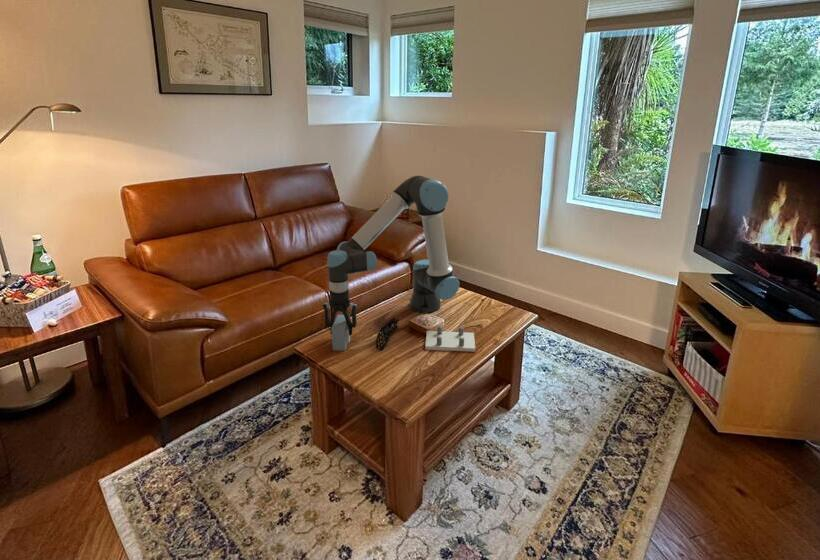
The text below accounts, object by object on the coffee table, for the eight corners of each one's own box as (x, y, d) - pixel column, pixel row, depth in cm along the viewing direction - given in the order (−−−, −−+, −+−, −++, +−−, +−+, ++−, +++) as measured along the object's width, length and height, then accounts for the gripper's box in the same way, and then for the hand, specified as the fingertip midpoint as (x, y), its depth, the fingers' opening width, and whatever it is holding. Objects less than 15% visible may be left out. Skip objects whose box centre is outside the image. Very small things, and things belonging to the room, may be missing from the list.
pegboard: (425, 349, 188) (425, 339, 186) (426, 333, 200) (427, 324, 198) (475, 351, 187) (475, 341, 185) (473, 335, 198) (474, 326, 197)
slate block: (339, 335, 198) (338, 314, 194) (350, 336, 198) (349, 314, 194) (332, 350, 187) (331, 328, 183) (345, 350, 187) (343, 328, 183)
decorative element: (385, 352, 187) (385, 339, 184) (373, 350, 188) (373, 337, 185) (400, 326, 207) (400, 314, 204) (389, 325, 208) (389, 313, 206)
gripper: (314, 292, 181) (318, 344, 189) (359, 294, 179) (361, 346, 188) (319, 285, 188) (322, 335, 196) (363, 286, 186) (365, 337, 195)
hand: (341, 341), depth 192 cm, fingers closed on slate block, 5 cm apart
